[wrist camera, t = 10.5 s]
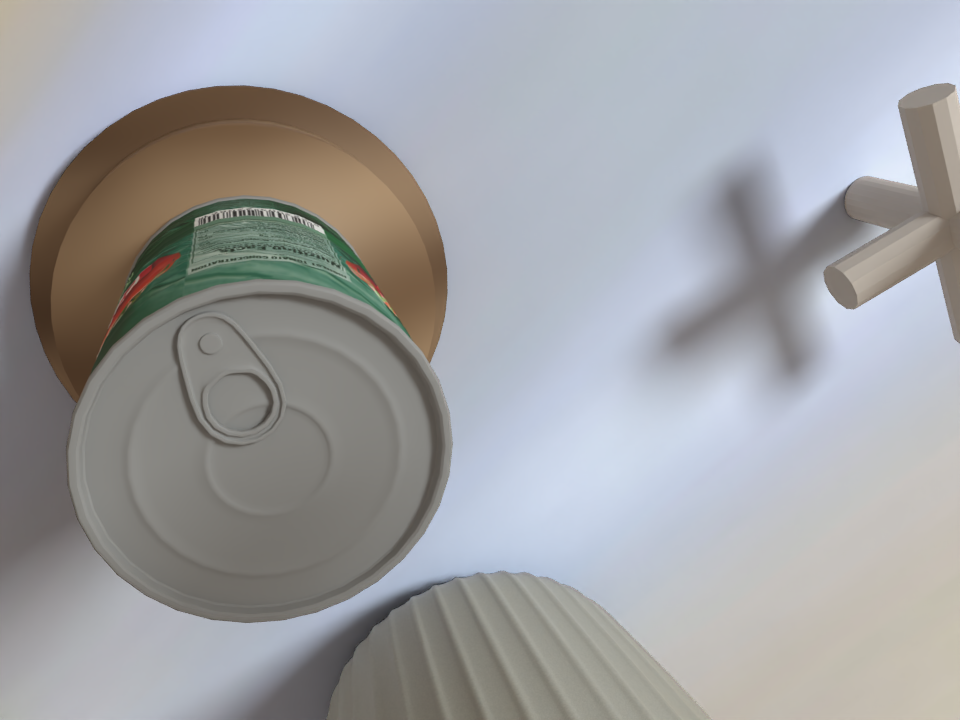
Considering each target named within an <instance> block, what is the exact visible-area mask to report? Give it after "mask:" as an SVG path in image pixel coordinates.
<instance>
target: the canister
mask: <svg viewBox="0 0 960 720" xmlns="http://www.w3.org/2000/svg"><path fill="white" fill-rule="evenodd" d="M326 720H712V719H711V718H710V717H709V716H708V715H707V714H706V712H705V711H704V710H703V709H702V708H701V707H700V706H699V705H698V704H697V703H696V702H695V701H694V700H693V698H692V697H691V696H690V695H689V694H688V693H687V692H686V691H685V690H684V689H683V688H682V687H681V686H680V685H679V684H678V683H677V681H676V680H675V679H674V678H673V677H672V676H671V675H670V674H669V673H668V672H667V671H666V670H665V669H664V668H663V667H662V666H661V665H660V664H659V663H658V662H657V661H656V660H655V659H654V658H653V657H652V656H651V655H650V654H649V653H648V652H647V651H646V650H645V649H644V648H643V647H642V646H641V645H640V644H639V643H638V642H637V641H636V640H635V639H634V638H633V637H632V636H631V635H630V634H629V633H628V632H627V631H626V630H625V629H624V628H623V627H622V626H621V625H620V624H619V623H618V622H617V621H616V620H615V619H614V618H613V617H612V616H611V615H610V614H609V613H608V612H607V611H606V610H605V609H604V608H602V607H601V606H600V605H599V604H597V603H596V602H595V601H593V600H591V599H589V598H587V597H585V596H584V595H583V594H582V593H580V592H579V591H578V590H576V589H574V588H572V587H570V586H567V585H564V584H560V583H558V582H557V581H555V580H553V579H551V578H548V577H536V576H534V575H532V574H529V573H526V572H520V573H515V574H513V573H508V572H506V571H498V572H496V573H490V574H484V573H476V574H475V575H473V576H469V577H465V578H458V577H456V578H454V579H453V580H451V581H449V582H447V583H444V584H441V585H433V586H432V587H431V589H429V590H428V591H426V592H424V593H422V594H420V595H417V596H412V597H411V598H410V600H409V601H407V602H406V603H405V604H403V605H402V606H400V607H399V608H396V609H393V610H392V611H391V612H390V614H389V616H388V617H387V618H386V619H385V620H383V621H382V622H381V623H379V624H377V625H375V626H374V627H373V628H372V630H371V632H370V634H369V635H368V637H367V638H366V639H365V640H364V641H362V642H361V643H360V644H359V645H358V646H357V647H356V649H355V651H354V654H353V657H352V659H350V660H349V661H348V663H347V664H346V665H345V666H344V668H343V670H342V673H341V676H340V680H339V683H338V684H337V686H336V688H335V689H334V691H333V694H332V697H331V700H330V706H329V712H328V715H327V718H326Z"/></svg>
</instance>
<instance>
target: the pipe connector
mask: <svg viewBox="0 0 960 720" xmlns="http://www.w3.org/2000/svg"><path fill="white" fill-rule="evenodd" d="M898 108H899V112H900V117H901V121H902V125H903V129H904V133H905V137H906V141H907V145H908V150H909V154H910V158H911V162H912V166H913V170H914V174H915V178H916V183H917V187H916V186H912V185H907V184H903V183H898V182H893V181H889V180H884V179H879V178H875V177H870V176H865V177H861V178H859V179H857V180H856V181H854V182H853V183H852V184H851V186H850V187H849V189H848V190H847V193H846V196H845V202H844V204H845V209H846V212H847V213H848V215H849V216H850V217H852V218H854V219H857V220H860V221H863V222H867V223H870V224H874V225H877V226H881V227H884V228H888V229H890V230H888V231H887V232H885V233H883V234H882V235H880V236H878V237H877V238H875V239H873V240H871V241H870V242H868V243H866V244H865V245H863V246H861V247H860V248H858V249H856V250H855V251H853V252H851V253H849V254H848V255H846V256H844V257H843V258H841V259H839V260H838V261H836V262H834V263H832V264H831V265H829V266H827V267H826V269H825V271H824V280H825V283H826V285H827V288H828V290H829V292H830V293H831V295H832V296H833V297H834V298H835V300H836V301H837V302H838V303H839V304H841V305H842V306H844V307H845V308H846V309H856V308H857V307H859V306H861V305H862V304H864V303H866V302H867V301H869V300H871V299H872V298H874V297H876V296H877V295H879V294H881V293H882V292H884V291H886V290H887V289H889V288H891V287H892V286H894V285H896V284H897V283H899V282H901V281H903V280H904V279H906V278H908V277H909V276H911V275H913V274H914V273H916V272H918V271H919V270H921V269H923V268H924V267H926V266H928V265H929V264H931V263H933V262H934V261H936V265H937V269H938V273H939V277H940V282H941V286H942V290H943V294H944V298H945V302H946V306H947V311H948V315H949V319H950V323H951V327H952V331H953V335H954V339H955V340H956V341H957V342H958V343H960V105H959V100H958V95H957V91H956V86H955V85H952V84H949V83H944V84H934V85H931V86H927V87H923V88H920V89H918V90H916V91H913V92H911V93H909V94H907V95H906V96H905V97H903V98H902V99H901V100H899V103H898Z"/></svg>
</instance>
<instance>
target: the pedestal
mask: <svg viewBox="0 0 960 720" xmlns="http://www.w3.org/2000/svg"><path fill="white" fill-rule="evenodd" d="M241 195H249V196H264V197H272V198H276V199H280V200H283V201H287V202H291V203H295V204H297V205H299V206H301V207H303V208H305V209H307V210H309V211H311V212H313V213H315V214H317V215H319V216H320V217H321V218H323V219H324V220H325V221H327V222H328V223H329V224H331V225H332V226H333V227H335V228H336V229H337V230H338V231H339V232H340V233H341V234H342V235H343V236H344V237H345V239H346V240H347V241H348V242H349V243H350V244H351V245H352V246H353V248H354V249H355V251H356V253H357V254H358V256H359V258H360V259H361V261H362V263H363V265H364V266H365V268H366V269H367V271H368V272H369V274H370V276H371V277H372V278H373V280H374V282H375V283H376V285H377V286H378V288H379V289H380V291H381V292H382V294H383V295H384V297H385V299H386V300H387V301H388V303H389V304H390V306H391V308H392V309H393V310H394V312H395V314H396V315H397V317H398V318H399V319H400V321H401V323H402V325H403V326H404V327H405V329H406V330H407V332H408V334H409V335H410V337H411V339H412V340H413V342H414V343H415V344H416V345H417V346H418V347H419V348H420V349H421V351H422V352H423V353H424V355H425V357H426V359H427V360H428V362H429V364H430V362H431V359H432V357H433V354H434V352H435V349H436V346H437V344H438V341H439V338H440V334H441V330H442V326H443V322H444V318H445V310H446V301H447V266H446V260H445V253H444V247H443V242H442V239H441V236H440V232H439V229H438V225H437V222H436V219H435V217H434V215H433V213H432V210H431V208H430V206H429V204H428V201H427V199H426V197H425V195H424V194H423V192H422V190H421V189H420V187H419V186H418V184H417V182H416V181H415V179H414V177H413V176H412V175H411V173H410V172H409V171H408V170H407V168H406V167H405V166H404V165H403V163H402V162H401V161H400V160H399V158H398V157H397V156H396V155H395V154H394V153H393V152H392V151H391V150H390V149H389V148H388V147H387V146H386V145H385V144H384V143H382V142H381V141H380V140H379V139H378V138H377V137H376V136H375V135H373V134H372V133H371V132H369V131H368V130H367V129H365V128H364V127H362V126H361V125H360V124H358V123H357V122H356V121H354V120H353V119H351V118H349V117H347V116H345V115H344V114H342V113H340V112H338V111H336V110H334V109H333V108H331V107H329V106H327V105H324V104H322V103H319V102H317V101H314V100H312V99H309V98H306V97H304V96H301V95H297V94H293V93H289V92H285V91H281V90H277V89H272V88H263V87H254V86H214V87H207V88H201V89H194V90H188V91H184V92H181V93H178V94H174V95H171V96H168V97H164V98H161V99H158V100H156V101H154V102H152V103H149V104H147V105H145V106H143V107H141V108H139V109H136V110H134V111H132V112H131V113H129V114H128V115H126V116H124V117H123V118H121V119H120V120H118V121H117V122H115V123H114V124H112V125H110V126H109V127H108V128H106V129H105V130H104V131H103V132H102V133H101V134H99V135H98V136H97V137H96V138H95V139H94V140H93V141H91V142H90V143H89V144H88V145H87V146H86V147H85V148H84V149H83V150H82V151H81V152H80V153H79V154H78V156H77V157H76V158H75V159H74V160H73V162H72V163H71V164H70V165H69V166H68V167H67V169H66V170H65V171H64V173H63V175H62V176H61V178H60V179H59V181H58V183H57V184H56V186H55V187H54V189H53V191H52V192H51V194H50V196H49V198H48V201H47V203H46V205H45V208H44V210H43V212H42V215H41V217H40V219H39V223H38V227H37V231H36V235H35V238H34V242H33V246H32V255H31V265H30V295H31V305H32V310H33V315H34V320H35V325H36V329H37V332H38V335H39V338H40V340H41V343H42V346H43V349H44V352H45V354H46V356H47V358H48V360H49V362H50V364H51V366H52V368H53V370H54V371H55V373H56V375H57V377H58V379H59V380H60V381H61V383H62V384H63V386H64V387H65V388H66V390H67V391H68V393H69V394H70V396H71V397H72V398H73V400H74V401H75V402H76V403H77V402H78V400H79V398H80V395H81V393H82V391H83V389H84V387H85V384H86V382H87V380H88V378H89V376H90V374H91V371H92V368H93V366H94V363H95V361H96V358H97V355H98V353H99V351H100V348H101V345H102V343H103V340H104V338H105V335H106V333H107V330H108V327H109V325H110V322H111V320H112V317H113V315H114V312H115V309H116V307H117V305H118V302H119V299H120V297H121V294H122V292H123V289H124V287H125V282H126V278H127V276H128V274H129V272H130V269H131V267H132V265H133V263H134V261H135V258H136V256H137V255H138V254H139V252H140V251H141V250H142V248H143V247H144V246H145V244H146V243H147V241H148V240H149V239H150V237H151V236H152V235H153V234H155V233H156V232H157V231H158V230H159V229H160V228H161V227H163V226H164V225H165V224H166V223H167V222H168V221H169V220H170V219H172V218H174V217H176V216H177V215H179V214H181V213H183V212H184V211H186V210H188V209H190V208H192V207H193V206H196V205H199V204H202V203H205V202H208V201H211V200H214V199H217V198H225V197H233V196H241Z"/></svg>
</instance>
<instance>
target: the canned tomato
mask: <svg viewBox="0 0 960 720" xmlns="http://www.w3.org/2000/svg"><path fill="white" fill-rule="evenodd" d="M452 446H453V442H452V432H451V422H450V412H449V409H448V406H447V403H446V400H445V397H444V394H443V391H442V387H441V384H440V381H439V379H438V377H437V376H436V374H435V372H434V370H433V369H432V367H431V365H430V364H429V362H428V360H427V359H426V357H425V355H424V353H423V352H422V351H421V349H420V348H419V347H418V346H417V345H416V344H415V343H414V342H413V340H412V339H411V337H410V335H409V334H408V332H407V330H406V329H405V327H404V326H403V325H402V323H401V321H400V319H399V318H398V317H397V315H396V314H395V312H394V310H393V309H392V308H391V306H390V304H389V303H388V301H387V300H386V299H385V297H384V295H383V294H382V292H381V291H380V289H379V288H378V286H377V285H376V283H375V282H374V280H373V278H372V277H371V276H370V274H369V272H368V271H367V269H366V268H365V266H364V265H363V263H362V261H361V259H360V258H359V256H358V254H357V253H356V251H355V249H354V248H353V246H352V245H351V244H350V243H349V242H348V241H347V240H346V239H345V237H344V236H343V235H342V234H341V233H340V232H339V231H338V230H337V229H336V228H335V227H333V226H332V225H331V224H329V223H328V222H327V221H325V220H324V219H323V218H321V217H320V216H319V215H317V214H315V213H313V212H311V211H309V210H307V209H305V208H303V207H301V206H299V205H297V204H295V203H291V202H287V201H283V200H280V199H276V198H272V197H264V196H249V195H241V196H233V197H225V198H217V199H214V200H211V201H208V202H205V203H202V204H199V205H196V206H193V207H192V208H190V209H188V210H186V211H184V212H183V213H181V214H179V215H177V216H176V217H174V218H172V219H170V220H169V221H168V222H167V223H166V224H165V225H164V226H163V227H161V228H160V229H159V230H158V231H157V232H156V233H155V234H153V235H152V236H151V237H150V239H149V240H148V241H147V243H146V244H145V246H144V247H143V248H142V250H141V251H140V252H139V254H138V255H137V256H136V258H135V261H134V263H133V265H132V267H131V269H130V272H129V274H128V276H127V278H126V282H125V287H124V289H123V292H122V294H121V297H120V299H119V302H118V305H117V307H116V309H115V312H114V315H113V317H112V320H111V322H110V325H109V327H108V330H107V333H106V335H105V338H104V340H103V343H102V345H101V348H100V351H99V353H98V355H97V358H96V361H95V363H94V366H93V368H92V371H91V374H90V376H89V378H88V380H87V382H86V384H85V387H84V389H83V391H82V393H81V395H80V398H79V400H78V402H77V404H76V407H75V409H74V411H73V415H72V420H71V425H70V431H69V436H68V441H67V446H66V459H67V482H68V488H69V492H70V495H71V499H72V502H73V506H74V509H75V513H76V516H77V519H78V521H79V523H80V525H81V526H82V528H83V530H84V532H85V533H86V535H87V537H88V539H89V541H90V542H91V544H92V546H93V548H94V549H95V550H96V552H97V553H98V554H99V555H100V556H101V557H102V558H103V559H104V560H105V562H106V563H107V564H108V565H109V566H110V567H111V568H112V569H113V570H114V572H115V573H116V574H117V575H118V576H120V577H121V578H122V579H124V580H125V581H126V582H128V583H129V584H131V585H132V586H133V587H135V588H136V589H137V590H139V591H140V592H141V593H143V594H144V595H146V596H148V597H150V598H152V599H154V600H156V601H158V602H160V603H163V604H165V605H167V606H169V607H171V608H173V609H175V610H177V611H181V612H185V613H189V614H192V615H196V616H200V617H204V618H207V619H211V620H221V621H232V622H243V623H253V622H266V621H280V620H286V619H290V618H295V617H299V616H303V615H307V614H311V613H316V612H319V611H321V610H323V609H326V608H328V607H331V606H333V605H336V604H338V603H340V602H343V601H345V600H348V599H350V598H351V597H353V596H355V595H356V594H358V593H360V592H361V591H363V590H364V589H366V588H368V587H369V586H371V585H373V584H374V583H376V582H378V581H379V580H380V579H381V578H382V577H383V576H385V575H386V574H387V573H388V572H389V571H390V570H391V569H393V568H394V567H395V566H396V565H397V564H398V563H400V562H401V561H402V560H403V559H404V558H405V557H406V555H407V554H408V553H409V552H410V550H411V549H412V548H413V547H414V546H415V544H416V543H417V542H418V541H419V539H420V538H421V537H422V536H423V534H424V533H425V531H426V529H427V528H428V526H429V524H430V522H431V520H432V518H433V517H434V515H435V513H436V511H437V509H438V507H439V506H440V503H441V500H442V496H443V493H444V490H445V487H446V484H447V481H448V478H449V473H450V464H451V455H452Z"/></svg>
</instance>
